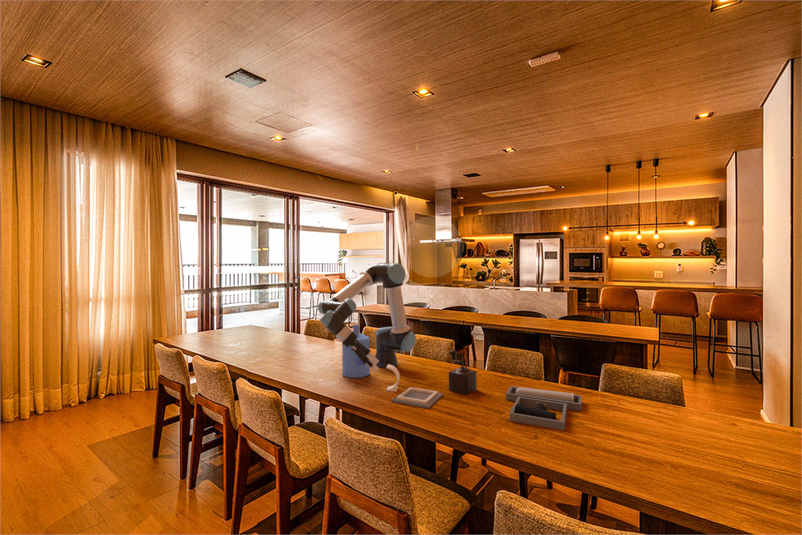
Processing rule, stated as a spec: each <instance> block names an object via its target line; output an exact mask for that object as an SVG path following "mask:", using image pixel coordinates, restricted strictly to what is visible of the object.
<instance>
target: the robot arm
mask: <svg viewBox="0 0 802 535" xmlns="http://www.w3.org/2000/svg"><path fill="white" fill-rule="evenodd" d="M405 279H406V271H405V268H404V266H403V265H402V264H400V263H398V262H377V263H374V264H372V265H370V266H368V267H367V268H366V269H364V270H363V271H362V272H360V274H359V276H358V277H356V278H355V279H354V280H352V281H351V282H350V283H348V284H347V285H346V286H344V287H343V288H342V289H341V290H339V291H338V292H337V293H335V294H334V295H333V296H332V297H330V298H329V299H328V300H321V301H320V302H319V303H318V305H317V310H318V312H319V313H320V314H321V315H322V317H321V318H320V320H319V321H320V323H321V324H322V325H323V326H324V327H325V328H326V329H327V330H328V331H329V332H330V333H331V334H332V335H333V336H334V337H335V339H336V340H338V341H339V342H341V344H342V343H343V344H344V345H345V346H346V347H349V346H350V345H351V346H352V348H351V349H352V350H353V351H354V352H355V353H356V354H357V355H358V357H359V358H360V359H361V360H362V361H363V364H365V363H366V364H367V365H368V366H369V367H370V369H371V370H372V371H373V372H374V373H377V372H378V371H379V369H380V368H386V367H387V365H392V366H394V367H396V366H398V357H397V354H396V351H400V352H407V353H408V352H410V351H412V349H414V348H415V345H416V342H417V336H416V334H415V333H414V332H412V331H411V326H409V325H408V324H407V316H406V311H405V304H404V299H403V293H402V286H403V284H404V283H403V282H404V281H405ZM378 283H379V284H380V283H381V284H382V287H383V289H384V290H385V291H386V296H387V302H388V306H389V308H388V309H389V312H390V319H391V324H392V326H385V327H379V328H377V329H376V330H375V331H376V333H375V343H376V344H375V348H376V350H375V355H374V354H373V353H372V351H371V349H367V348H366V347H365V346H364V345H362V344H361V343H360V342H359V341H358V340H357V339H356V338H357V335H356V334H355V333H354V332H353V331H352V329H351V328H350V327H349V326H348V325H347V324H346V323H345V322H346V320H347V319H348V318H349V317H350V316H352V314H354V312H355V311H356V309H357V303H356V302H355V301H354V300H353V299H354V298H355V297H356V296H357V295H359V294H361V292H362V291H364V290H365V289H367V287H371V286H372V285H374V284H378ZM342 341H343V342H342ZM366 355H367V356H366Z"/></svg>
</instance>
